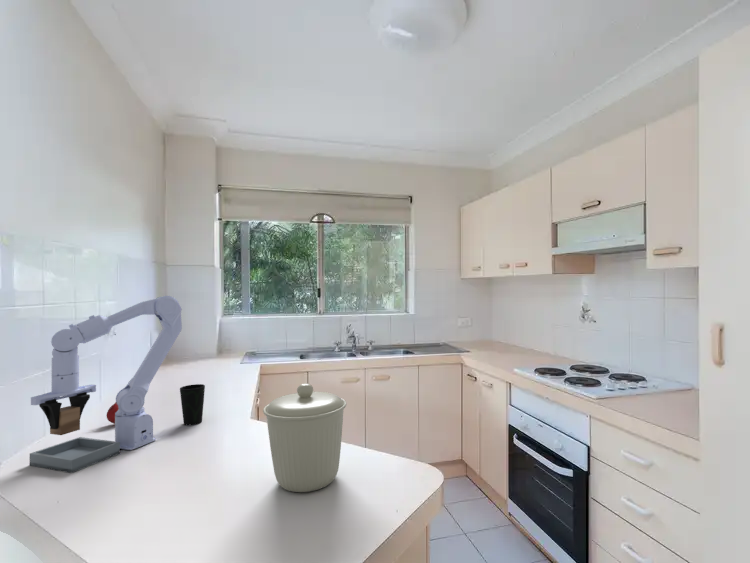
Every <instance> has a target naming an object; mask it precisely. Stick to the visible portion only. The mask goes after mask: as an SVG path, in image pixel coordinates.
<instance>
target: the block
mask: <svg viewBox="0 0 750 563" xmlns="http://www.w3.org/2000/svg"><path fill="white" fill-rule="evenodd" d="M80 430H81V418H80V407H74V406H71V405H68V406H64V407H61V408H60V413H59V427H58V429H50V428H49V435H55V436H65V435H67V434H70V433H73V432H77V431H80Z"/></svg>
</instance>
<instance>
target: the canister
mask: <svg viewBox="0 0 750 563" xmlns="http://www.w3.org/2000/svg"><path fill="white" fill-rule="evenodd" d="M346 407H347V401H346V400H345V399H344V398H342V397H340V396H339V395H337V394H335V393H331V392H327V391H314V387H313V386H312V385H311V384H310V383H301V384H299V385H298V386H297V389H296V392H295V393H289V394H286V395H282V396H279V397H277V398H275V399H273V400H272V401H270V402H269V403H268V404H266V405H265V406H264V407H263V409H262V412H263V414H264V416H266V425H267V431H268V439H269V446H270V452H271V459H272V466H273V471H274V472H273V473H274V476H275V479H276V481H277V484H278V485H279V486H280V487H281V488H282V489H284V490H285V491H289V492H293V493H309V492H313V491H317V490H321V489H323V488H325V487H327V486H328V485H330V484H331V483H333V481H334V480H335V479H336V476H337V475H338V472H339V468H340V462H341V460H340V458H341V449H342V448H341V447H342V438H343V437H342V436H343V421H344V409H345V408H346Z"/></svg>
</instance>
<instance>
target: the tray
mask: <svg viewBox="0 0 750 563" xmlns="http://www.w3.org/2000/svg"><path fill="white" fill-rule="evenodd" d="M120 453H121V452H120V442H115V440H114V441H113V440H106V439H98V438H89V437H83V436H80V437H79V436H78V437H76V438H73V439H70V440H67V441H63V442H61V443H58V444H54V445H51V446H48V447H45V448H43V449H39V450H37V451H33V452H30V453H29V466H30V467H35V468H36V467H37V468H41V469H47V470H53V471H58V472H64V473H68V474H72V473H75V472H77V471H79V470H82V469H84V468H87V467H89V466H90V467H91V466H93V465H94V464H97V463H100V462H102V461H105V460H107V459H110V458H112V457H114V456H117V455H119V454H120Z"/></svg>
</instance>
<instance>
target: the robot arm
mask: <svg viewBox="0 0 750 563" xmlns="http://www.w3.org/2000/svg"><path fill="white" fill-rule="evenodd" d="M182 310H183V309H182V306H181V305H180V303H179V301H178V299H177V298H176V297H174V296H171V295H163V296H159V297H157V298H153V299H148V300H145V301H141V302H138V303H136V304H133V305H132V306H131V305H130V306H129V307H126V308H125V309H122V310H120V311H118V312H115V313H113V314H110V315H108V316H105V315H101V314H98V315H94V314H93V315H90V316H88V319H85V320H84V321H80V322H78V323H76V324H74V323H71V324H69V325H68V327H69V328H63V329H60V330H58V331H57V332H55V333H54V335H53V336H52V337H51V341H50V342H51V345H52V347H53V349H52V352H51V355H52V357H51V391H50V392H47V393H41V394H40V395H39V394H38V395H36V396H31V397H30V406H39V408H40V409H41V410H42V412H43V413H44V415H45V417H46V419H47V421H48V424H49V430H50V429H58V427H59V413H60V408H62V402H58V400H64V399H68V400H69V404H70V405H69V406H74V407H80V419H81V418H82V414H83V412H84V408H85V407H86V405H87V403H88V401H89V400H90V397H91V395H90V394H89V393H95V392H96V391H97V385H96V384H87V385H82V386H80V355H78V352H79V351H78V350H79V349H78V347H79V345H80V344H86V343H89V342H91V341H94V340H96V339H99V338H101V337H103V336H105V335H107V334H110V332H111V330H112V328H113V327H115V326H117V325H120V324H122V323H124V322H127V321H129V320H132V319H135V318H137V317H139V316H143V315H144V316H145V315H147V316H148V315H150V316H152V315H154V316H156V317H157V319H158V321H159V323H160V326H161V327H162V330H161V331H160V333H159V334H158V336H157V337H156V339H155V341H154V343H153V344H152V345H151V348H150V349H149V351H148V352H147V354H146V355H145V357H144V359H143V361H142V362H141V363H140V365H139V367H138V368H137V371H136V372H135V374H134V375H133V377H132V378H131V379H130V380H129V381H128V383H127V384H126V386H124V387H123V388H122V389H119V391H118V392H117V394H116V396H115V402H116V403H117V405H118V408H119V409H118V411H117V412H116V413H115V424H114V441H115V442H120V449H121V450H126V451H132V450H135V449H138V448H140V447H142V446H146V445H148V444H150V443H152V442H155V441H156V438H155V437H154V421H153V417H152V415H150V414H149V413H147V412H146V411H145V410H146V409H145V407H144V405H145V397H146V395H147V393H149V392H148V391H149V388H150V385H151V382H152V381H153V379H154V377H155V376H156V374H157V372H158V371H159V369H160V367H161V365H162V364H163V363H164V360H165V359H166V358H167V356H168V354H169V352H170V350H171V348H173V346H174V344H175V342H176V340H177V338H178V337H179V335H180V334H181V332H182V329H183V325H182V324H183V323H182Z"/></svg>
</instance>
